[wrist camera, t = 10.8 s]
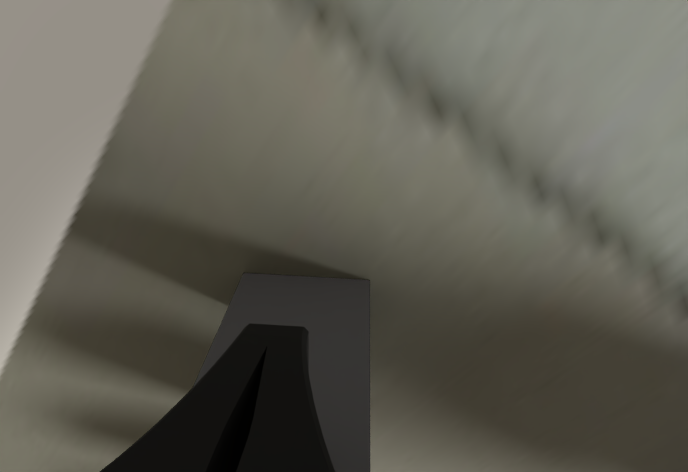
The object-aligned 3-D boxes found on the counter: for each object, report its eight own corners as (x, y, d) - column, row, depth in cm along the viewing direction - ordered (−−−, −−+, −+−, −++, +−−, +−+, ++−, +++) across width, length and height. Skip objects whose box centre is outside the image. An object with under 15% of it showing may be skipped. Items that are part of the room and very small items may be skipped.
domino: (243, 272, 19) (152, 479, 11) (369, 280, 19) (370, 494, 11) (246, 314, 20) (164, 531, 12) (366, 321, 20) (364, 546, 12)
